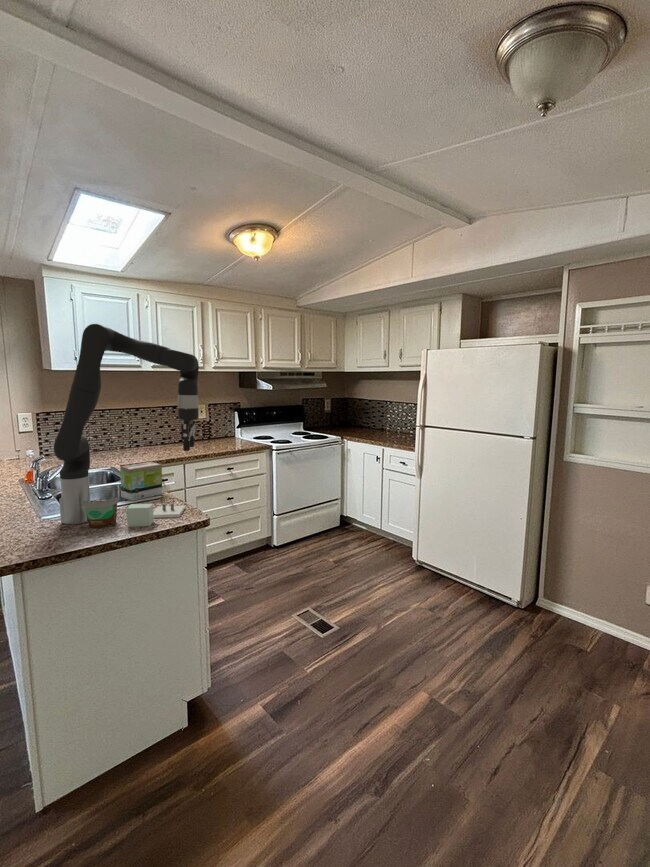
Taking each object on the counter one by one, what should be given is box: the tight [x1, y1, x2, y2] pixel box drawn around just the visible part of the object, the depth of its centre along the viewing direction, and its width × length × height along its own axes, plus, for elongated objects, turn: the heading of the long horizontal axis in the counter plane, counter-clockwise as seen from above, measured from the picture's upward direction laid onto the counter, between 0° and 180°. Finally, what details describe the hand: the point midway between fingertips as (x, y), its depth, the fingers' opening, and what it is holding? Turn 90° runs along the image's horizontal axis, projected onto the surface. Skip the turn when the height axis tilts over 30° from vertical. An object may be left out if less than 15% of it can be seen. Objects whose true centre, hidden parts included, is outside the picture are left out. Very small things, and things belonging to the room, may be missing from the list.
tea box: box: [119, 461, 163, 501], centre depth 189 cm, size 15×10×15 cm, turn 143°
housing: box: [125, 503, 155, 528], centre depth 154 cm, size 8×5×7 cm, turn 97°
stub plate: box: [153, 503, 186, 519], centre depth 167 cm, size 11×11×4 cm
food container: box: [82, 496, 120, 529], centre depth 151 cm, size 12×6×10 cm, turn 105°
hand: (188, 448), depth 158 cm, fingers open, 8 cm apart
